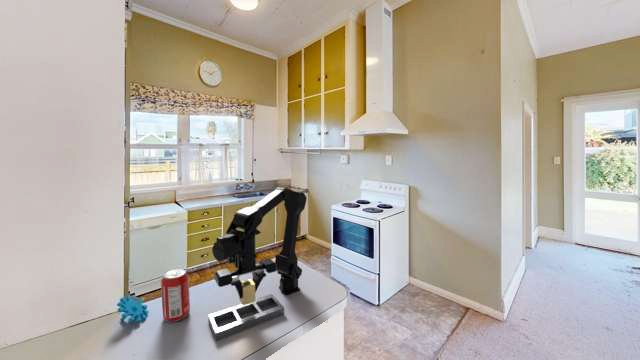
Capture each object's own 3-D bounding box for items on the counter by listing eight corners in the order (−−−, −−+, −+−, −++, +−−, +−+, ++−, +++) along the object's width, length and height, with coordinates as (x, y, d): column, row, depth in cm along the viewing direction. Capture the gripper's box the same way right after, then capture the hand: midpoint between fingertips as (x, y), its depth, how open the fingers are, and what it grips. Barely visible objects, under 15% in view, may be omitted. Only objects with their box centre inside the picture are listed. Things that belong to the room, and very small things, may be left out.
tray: (271, 300, 94) (271, 293, 94) (284, 314, 86) (284, 307, 86) (208, 322, 82) (208, 314, 82) (216, 341, 74) (215, 333, 73)
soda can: (171, 327, 79) (168, 281, 78) (158, 318, 83) (155, 274, 82) (194, 314, 86) (193, 271, 84) (182, 306, 90) (180, 265, 88)
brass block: (251, 295, 86) (250, 278, 86) (255, 301, 83) (255, 283, 82) (239, 299, 84) (238, 281, 83) (243, 305, 81) (242, 287, 80)
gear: (138, 324, 78) (113, 302, 77) (123, 339, 77) (98, 317, 76) (156, 307, 89) (135, 288, 88) (143, 320, 88) (121, 301, 87)
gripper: (263, 237, 93) (264, 277, 95) (209, 248, 83) (211, 293, 85) (277, 247, 84) (277, 291, 86) (218, 260, 74) (219, 310, 75)
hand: (247, 295), depth 83 cm, fingers closed on brass block, 4 cm apart
